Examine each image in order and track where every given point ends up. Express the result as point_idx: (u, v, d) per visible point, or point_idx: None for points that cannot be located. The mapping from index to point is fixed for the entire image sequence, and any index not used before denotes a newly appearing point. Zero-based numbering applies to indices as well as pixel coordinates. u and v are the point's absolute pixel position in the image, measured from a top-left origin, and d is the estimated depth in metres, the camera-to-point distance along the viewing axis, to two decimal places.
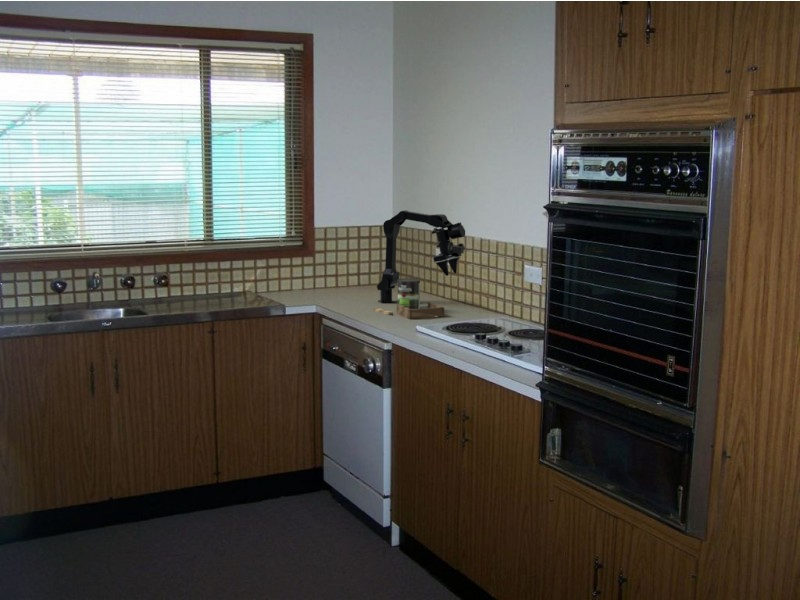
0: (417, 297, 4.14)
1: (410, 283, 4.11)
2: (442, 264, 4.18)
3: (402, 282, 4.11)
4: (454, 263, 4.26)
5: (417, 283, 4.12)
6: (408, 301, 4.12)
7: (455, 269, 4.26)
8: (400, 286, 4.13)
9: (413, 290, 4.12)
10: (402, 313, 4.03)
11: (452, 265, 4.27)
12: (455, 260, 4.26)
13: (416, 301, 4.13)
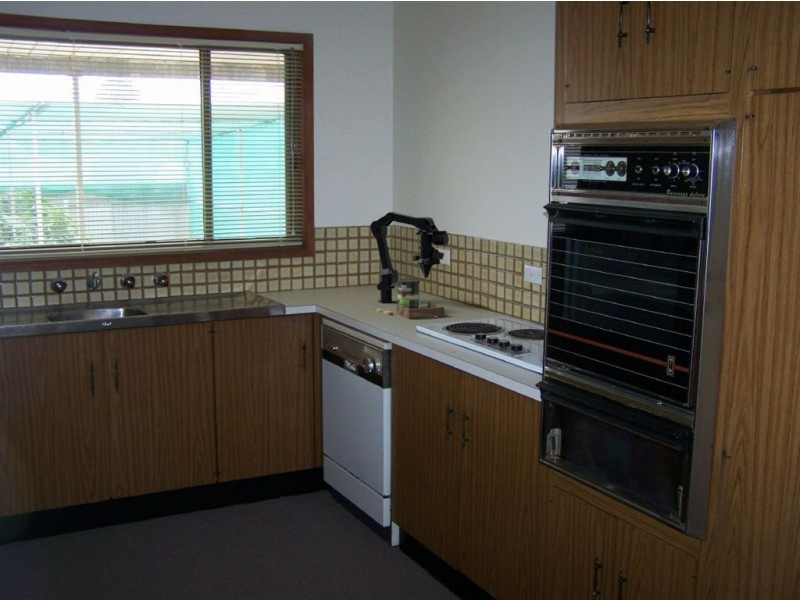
0: (417, 297, 4.14)
1: (410, 283, 4.11)
2: (426, 266, 4.27)
3: (402, 282, 4.11)
4: None
5: (417, 283, 4.12)
6: (408, 301, 4.12)
7: None
8: (400, 286, 4.13)
9: (413, 290, 4.12)
10: (402, 313, 4.03)
11: None
12: None
13: (416, 301, 4.13)
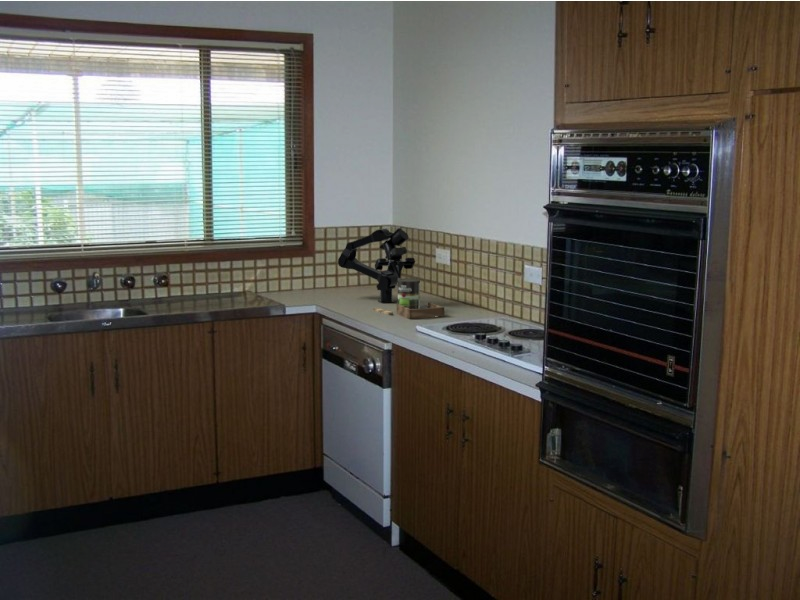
0: (417, 297, 4.14)
1: (410, 283, 4.11)
2: (393, 269, 4.29)
3: (402, 282, 4.11)
4: (398, 269, 4.28)
5: (417, 283, 4.12)
6: (408, 301, 4.12)
7: None
8: (400, 286, 4.13)
9: (413, 290, 4.12)
10: (402, 313, 4.03)
11: None
12: (398, 266, 4.29)
13: (416, 301, 4.13)
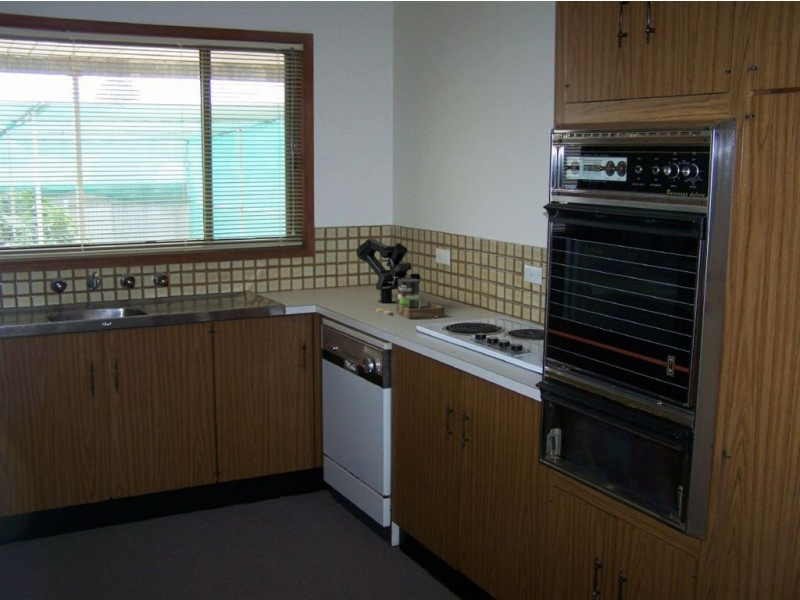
0: (417, 297, 4.13)
1: (410, 283, 4.10)
2: None
3: (402, 282, 4.11)
4: None
5: (417, 283, 4.12)
6: (408, 301, 4.12)
7: None
8: (400, 286, 4.12)
9: (413, 290, 4.11)
10: (402, 313, 4.03)
11: None
12: None
13: (416, 301, 4.13)
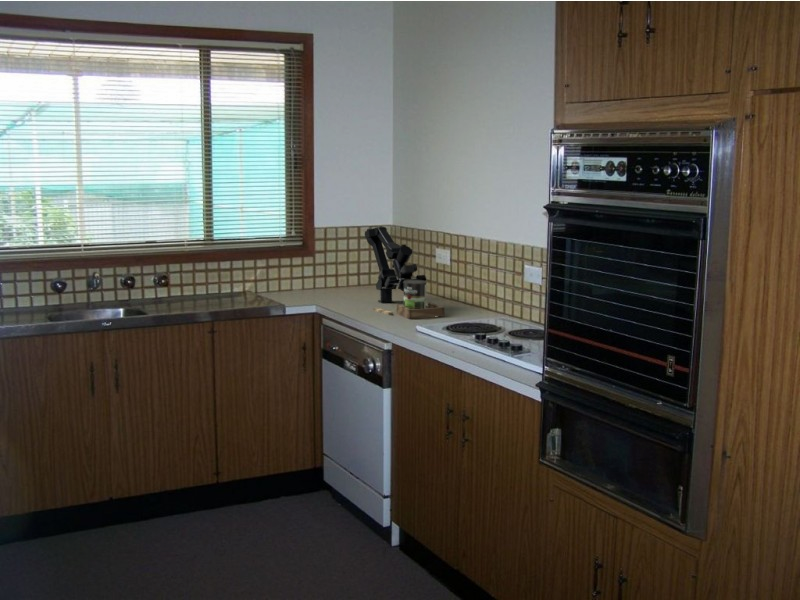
0: (423, 299, 4.07)
1: (416, 285, 4.04)
2: None
3: (408, 284, 4.05)
4: None
5: (423, 285, 4.06)
6: (413, 303, 4.06)
7: None
8: (406, 288, 4.06)
9: (419, 293, 4.05)
10: (402, 313, 4.03)
11: None
12: None
13: (422, 303, 4.07)
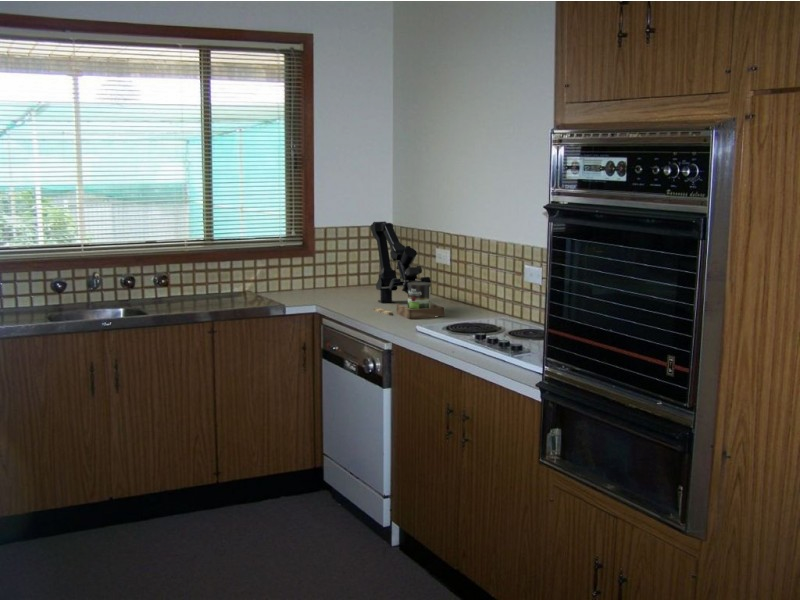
0: (427, 301, 4.02)
1: (420, 287, 3.99)
2: None
3: (412, 285, 4.00)
4: None
5: (427, 287, 4.01)
6: (417, 305, 4.01)
7: None
8: (410, 290, 4.01)
9: (423, 294, 4.00)
10: (402, 313, 4.03)
11: None
12: None
13: (426, 305, 4.02)
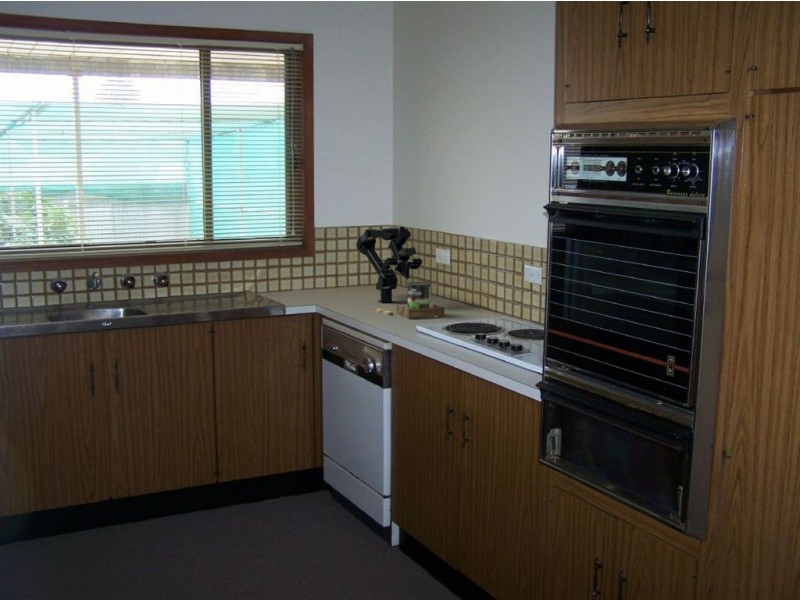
0: (427, 301, 4.02)
1: (420, 287, 3.99)
2: (401, 269, 4.23)
3: (412, 286, 4.00)
4: (406, 269, 4.23)
5: (427, 287, 4.01)
6: (417, 305, 4.01)
7: None
8: (410, 290, 4.02)
9: (423, 294, 4.00)
10: (402, 313, 4.03)
11: None
12: (406, 266, 4.23)
13: (426, 305, 4.02)
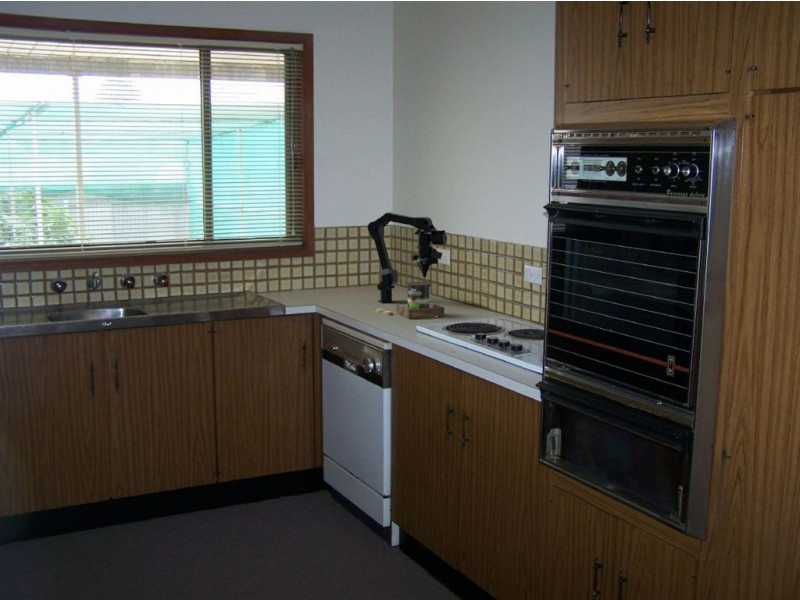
0: (427, 301, 4.02)
1: (420, 287, 3.99)
2: (424, 266, 4.29)
3: (412, 286, 4.00)
4: None
5: (427, 287, 4.01)
6: (417, 305, 4.01)
7: None
8: (410, 290, 4.02)
9: (423, 294, 4.00)
10: (402, 313, 4.03)
11: None
12: None
13: (426, 305, 4.02)
